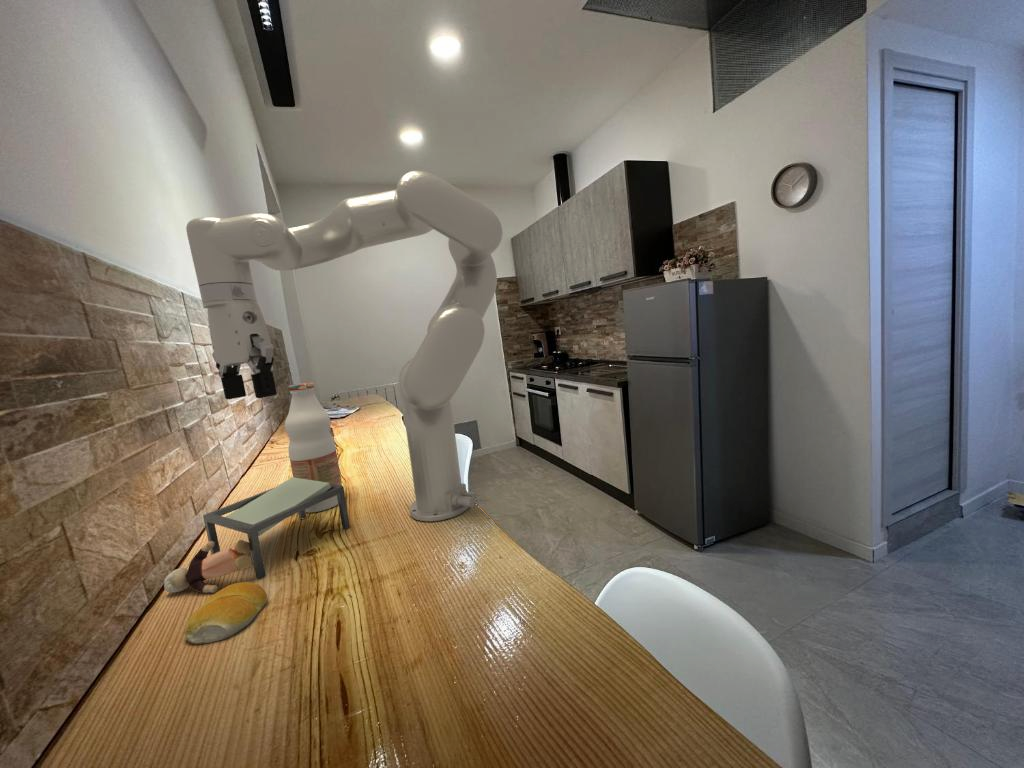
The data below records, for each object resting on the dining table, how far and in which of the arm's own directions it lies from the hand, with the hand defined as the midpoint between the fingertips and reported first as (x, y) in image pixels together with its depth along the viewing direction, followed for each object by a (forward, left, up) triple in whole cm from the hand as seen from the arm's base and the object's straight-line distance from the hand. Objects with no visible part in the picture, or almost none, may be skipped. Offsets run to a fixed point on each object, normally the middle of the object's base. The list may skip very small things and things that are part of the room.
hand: (251, 397), depth 67 cm
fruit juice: (+10, -15, -28) cm, 33 cm away
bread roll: (-13, +14, -28) cm, 34 cm away
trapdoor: (0, -2, -23) cm, 23 cm away
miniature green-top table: (0, -1, -28) cm, 28 cm away
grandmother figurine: (-7, +8, -23) cm, 25 cm away
